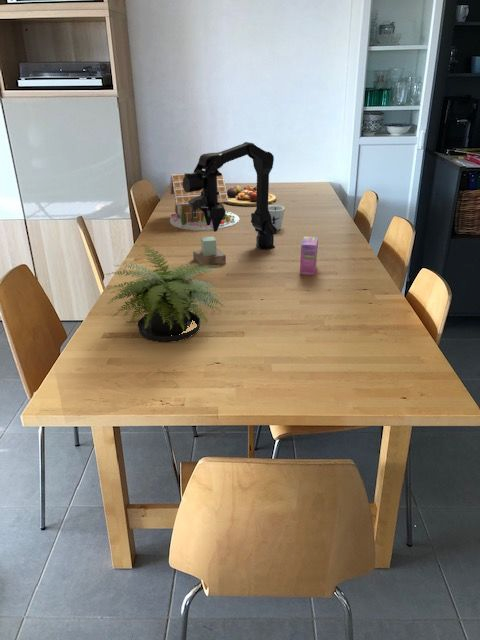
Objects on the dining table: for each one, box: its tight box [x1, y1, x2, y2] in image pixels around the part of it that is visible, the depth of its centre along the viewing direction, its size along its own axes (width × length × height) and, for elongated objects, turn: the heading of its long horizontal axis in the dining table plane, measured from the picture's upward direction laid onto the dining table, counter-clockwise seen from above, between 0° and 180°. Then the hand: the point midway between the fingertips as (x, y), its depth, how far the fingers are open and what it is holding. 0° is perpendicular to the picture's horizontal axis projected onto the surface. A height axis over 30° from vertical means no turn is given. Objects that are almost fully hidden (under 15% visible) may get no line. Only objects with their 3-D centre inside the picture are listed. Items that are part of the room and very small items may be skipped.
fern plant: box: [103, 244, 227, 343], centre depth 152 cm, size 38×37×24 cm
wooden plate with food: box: [224, 185, 277, 207], centre depth 300 cm, size 32×32×8 cm
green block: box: [200, 236, 217, 256], centre depth 206 cm, size 5×5×6 cm
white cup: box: [268, 204, 286, 231], centre depth 249 cm, size 10×15×10 cm
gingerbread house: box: [169, 171, 240, 231], centre depth 258 cm, size 35×35×24 cm
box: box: [299, 235, 319, 276], centre depth 197 cm, size 10×6×12 cm, turn 168°
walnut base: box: [192, 247, 227, 268], centre depth 208 cm, size 10×10×4 cm
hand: (211, 228), depth 206 cm, fingers open, 9 cm apart
